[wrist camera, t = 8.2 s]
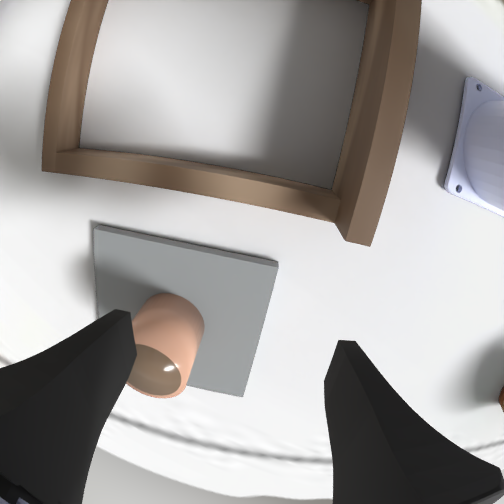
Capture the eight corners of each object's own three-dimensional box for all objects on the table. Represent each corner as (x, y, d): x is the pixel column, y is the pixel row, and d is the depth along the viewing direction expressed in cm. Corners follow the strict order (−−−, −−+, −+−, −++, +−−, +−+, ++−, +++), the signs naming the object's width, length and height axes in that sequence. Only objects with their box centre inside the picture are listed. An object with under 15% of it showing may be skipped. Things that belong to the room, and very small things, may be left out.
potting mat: (278, 261, 18) (278, 267, 18) (243, 390, 23) (242, 397, 22) (99, 224, 18) (93, 228, 18) (108, 355, 23) (105, 361, 22)
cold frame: (389, -3, 11) (422, -36, 7) (345, 214, 17) (370, 246, 12) (105, -29, 11) (67, -55, 7) (64, 164, 17) (14, 179, 12)
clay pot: (201, 295, 19) (180, 345, 14) (207, 350, 21) (191, 403, 16) (136, 290, 19) (101, 334, 15) (147, 344, 21) (122, 391, 16)
